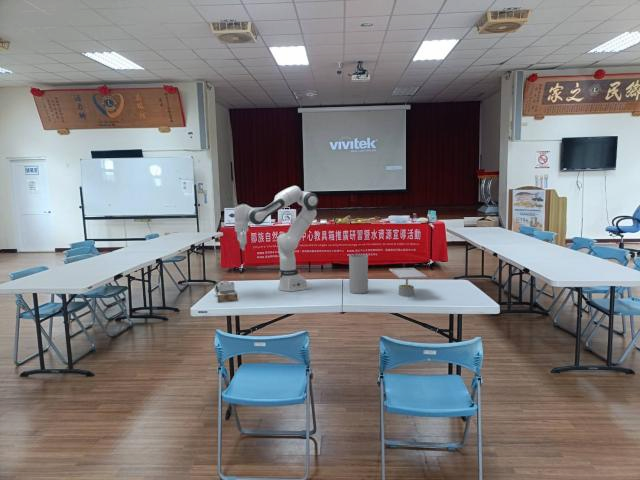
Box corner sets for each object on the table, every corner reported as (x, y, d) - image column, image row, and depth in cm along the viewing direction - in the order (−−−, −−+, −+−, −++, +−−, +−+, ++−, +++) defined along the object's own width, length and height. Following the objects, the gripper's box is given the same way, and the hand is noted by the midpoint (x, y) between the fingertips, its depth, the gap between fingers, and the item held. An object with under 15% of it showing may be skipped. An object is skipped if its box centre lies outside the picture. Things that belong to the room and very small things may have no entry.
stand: (236, 297, 285) (235, 290, 284) (237, 300, 277) (237, 293, 276) (217, 299, 281) (217, 291, 281) (218, 302, 274) (218, 294, 273)
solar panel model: (426, 299, 273) (427, 276, 271) (400, 300, 271) (400, 277, 269) (413, 289, 300) (413, 267, 298) (388, 289, 299) (389, 268, 297)
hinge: (223, 297, 286) (218, 283, 286) (217, 299, 287) (212, 285, 287) (234, 291, 302) (229, 277, 302) (229, 293, 304) (224, 279, 303)
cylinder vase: (371, 291, 296) (371, 255, 293) (361, 295, 286) (361, 257, 283) (355, 288, 304) (355, 253, 300) (345, 292, 294) (345, 256, 290)
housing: (233, 291, 282) (233, 281, 281) (234, 292, 278) (234, 283, 277) (219, 292, 279) (219, 282, 279) (220, 294, 275) (219, 284, 274)
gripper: (248, 229, 277) (249, 251, 279) (244, 227, 297) (245, 247, 299) (238, 230, 276) (239, 251, 277) (235, 227, 295) (235, 247, 297)
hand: (242, 249), depth 288 cm, fingers open, 8 cm apart
